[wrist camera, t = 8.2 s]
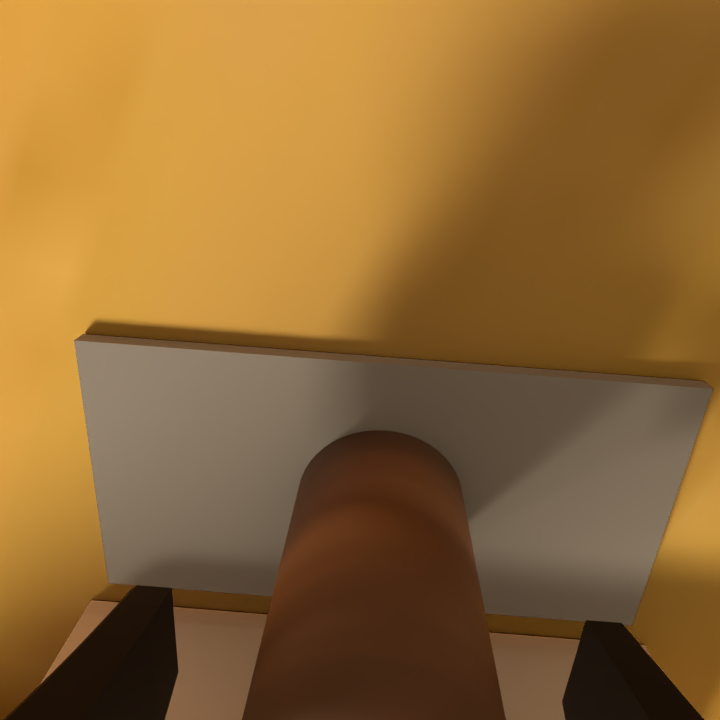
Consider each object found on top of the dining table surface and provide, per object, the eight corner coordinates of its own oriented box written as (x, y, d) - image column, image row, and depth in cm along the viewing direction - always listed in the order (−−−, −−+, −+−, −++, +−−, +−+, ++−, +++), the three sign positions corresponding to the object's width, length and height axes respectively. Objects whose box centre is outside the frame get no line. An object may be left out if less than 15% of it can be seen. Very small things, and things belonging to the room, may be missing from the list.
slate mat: (114, 572, 16) (108, 583, 15) (83, 334, 13) (74, 340, 13) (626, 613, 16) (632, 625, 15) (703, 381, 13) (713, 389, 13)
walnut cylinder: (296, 559, 15) (242, 822, 9) (299, 423, 13) (235, 643, 8) (451, 572, 15) (488, 844, 9) (473, 437, 13) (533, 667, 8)
